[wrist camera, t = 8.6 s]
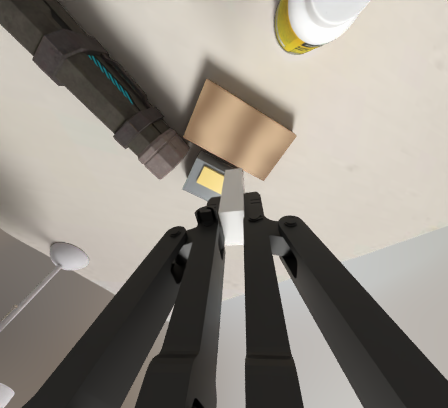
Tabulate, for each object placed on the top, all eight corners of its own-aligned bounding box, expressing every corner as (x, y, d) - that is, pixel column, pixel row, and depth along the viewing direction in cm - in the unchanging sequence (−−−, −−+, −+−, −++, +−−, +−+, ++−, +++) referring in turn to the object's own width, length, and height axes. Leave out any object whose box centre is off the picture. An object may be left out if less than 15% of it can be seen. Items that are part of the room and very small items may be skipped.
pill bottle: (283, 67, 24) (312, 57, 15) (264, 8, 21) (284, -48, 12) (334, 34, 22) (403, 0, 13) (320, -34, 19) (395, -141, 10)
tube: (30, -81, 21) (204, 143, 29) (24, -17, 25) (179, 165, 33) (-151, -179, 12) (165, 174, 21) (-118, -59, 16) (138, 198, 25)
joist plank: (186, 133, 29) (182, 137, 27) (208, 79, 25) (206, 78, 23) (261, 174, 32) (263, 180, 30) (292, 131, 28) (296, 135, 26)
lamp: (69, 281, 54) (-112, 494, 26) (17, 238, 45) (-336, 486, 17) (118, 271, 50) (-34, 510, 22) (71, 222, 41) (-273, 510, 13)
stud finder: (187, 178, 34) (181, 190, 30) (201, 149, 31) (196, 158, 27) (226, 197, 36) (225, 211, 32) (243, 172, 33) (243, 183, 29)
